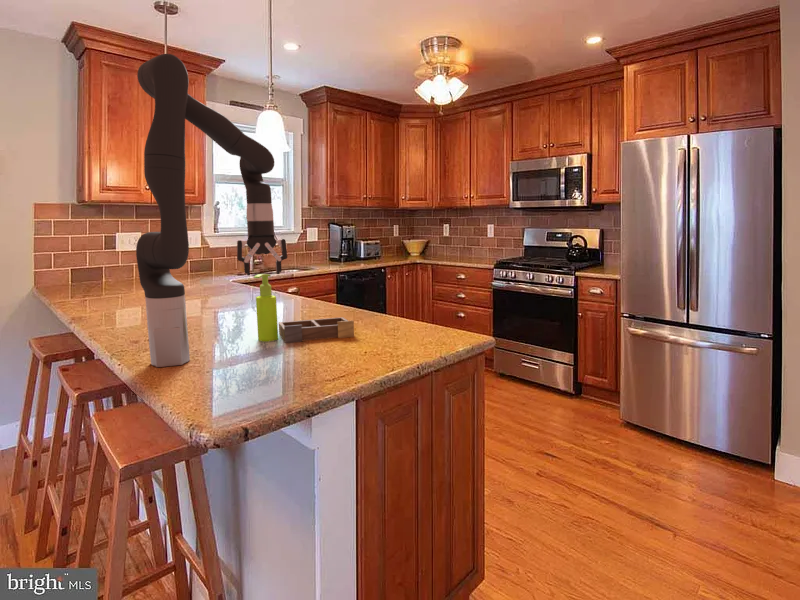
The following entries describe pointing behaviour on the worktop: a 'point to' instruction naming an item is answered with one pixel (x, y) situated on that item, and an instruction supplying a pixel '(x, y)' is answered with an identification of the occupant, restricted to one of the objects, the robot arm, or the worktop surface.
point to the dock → (316, 329)
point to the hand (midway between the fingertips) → (263, 274)
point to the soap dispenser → (266, 311)
